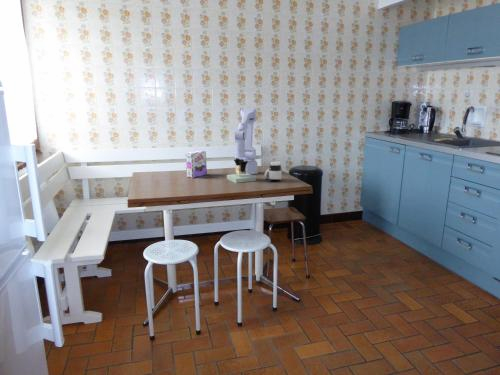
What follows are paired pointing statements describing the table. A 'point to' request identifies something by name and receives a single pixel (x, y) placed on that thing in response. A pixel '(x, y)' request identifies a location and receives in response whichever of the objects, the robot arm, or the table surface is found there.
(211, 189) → the table surface
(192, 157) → the candy box
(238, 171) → the beech block
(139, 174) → the table surface
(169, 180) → the table surface
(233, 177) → the sage box
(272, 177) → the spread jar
